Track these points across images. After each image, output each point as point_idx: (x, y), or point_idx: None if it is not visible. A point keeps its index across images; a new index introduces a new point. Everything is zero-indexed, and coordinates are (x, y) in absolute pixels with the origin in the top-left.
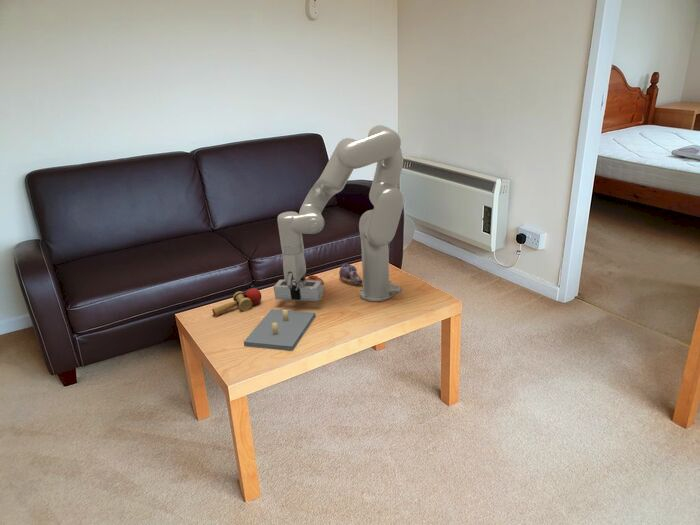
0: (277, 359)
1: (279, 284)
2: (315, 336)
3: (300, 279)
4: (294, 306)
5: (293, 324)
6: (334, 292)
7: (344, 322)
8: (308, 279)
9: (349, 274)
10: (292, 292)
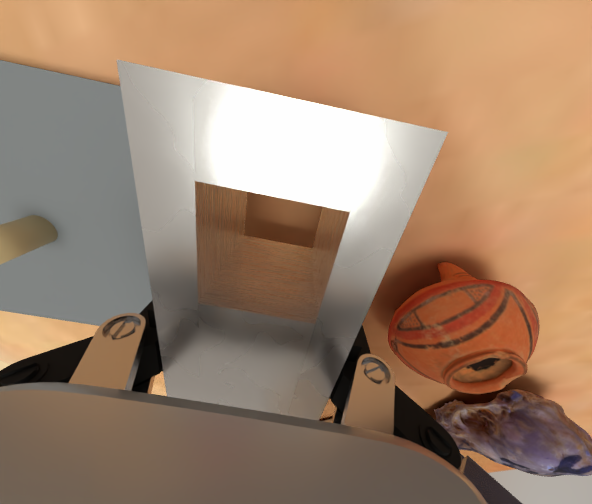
0: None
1: (224, 174)
2: (40, 331)
3: (342, 390)
4: (261, 229)
5: (22, 270)
6: (391, 363)
7: (163, 388)
8: (467, 350)
9: (487, 442)
10: (144, 314)
